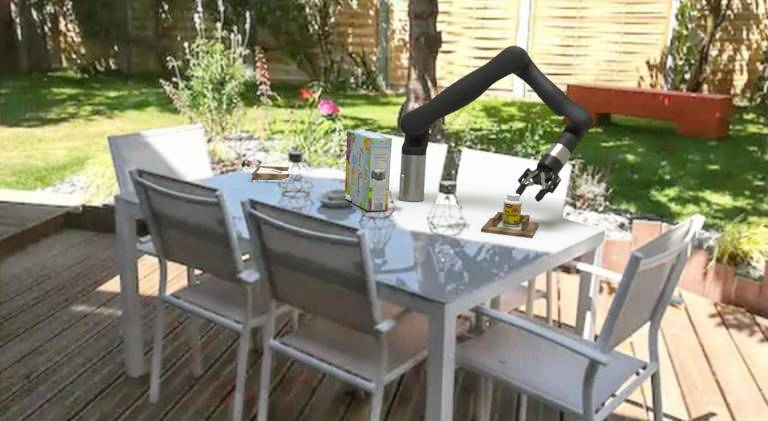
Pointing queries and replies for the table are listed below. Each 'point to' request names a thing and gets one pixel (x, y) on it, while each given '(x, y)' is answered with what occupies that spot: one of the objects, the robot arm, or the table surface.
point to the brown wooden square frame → (522, 230)
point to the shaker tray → (270, 176)
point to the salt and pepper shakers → (269, 171)
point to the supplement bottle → (512, 210)
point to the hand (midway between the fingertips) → (526, 197)
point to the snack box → (367, 169)
